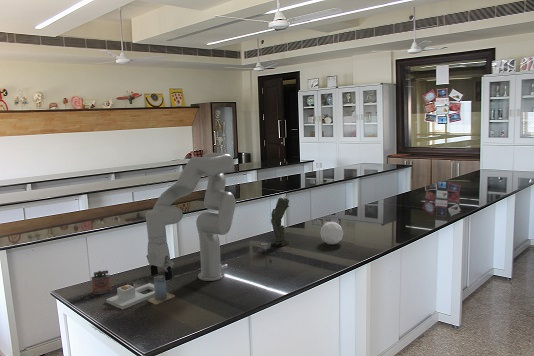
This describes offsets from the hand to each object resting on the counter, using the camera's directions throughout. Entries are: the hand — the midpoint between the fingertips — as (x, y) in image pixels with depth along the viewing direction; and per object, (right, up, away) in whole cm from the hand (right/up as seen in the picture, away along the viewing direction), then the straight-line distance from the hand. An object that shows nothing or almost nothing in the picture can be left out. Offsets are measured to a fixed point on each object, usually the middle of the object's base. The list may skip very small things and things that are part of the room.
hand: (161, 277), depth 193 cm
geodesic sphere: (+83, +4, +72) cm, 110 cm away
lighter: (-29, -9, +10) cm, 32 cm away
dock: (-12, -10, +3) cm, 15 cm away
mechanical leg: (+53, +3, +73) cm, 91 cm away
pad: (0, -10, +1) cm, 10 cm away
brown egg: (-15, -8, -1) cm, 17 cm away
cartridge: (0, -9, 0) cm, 9 cm away
